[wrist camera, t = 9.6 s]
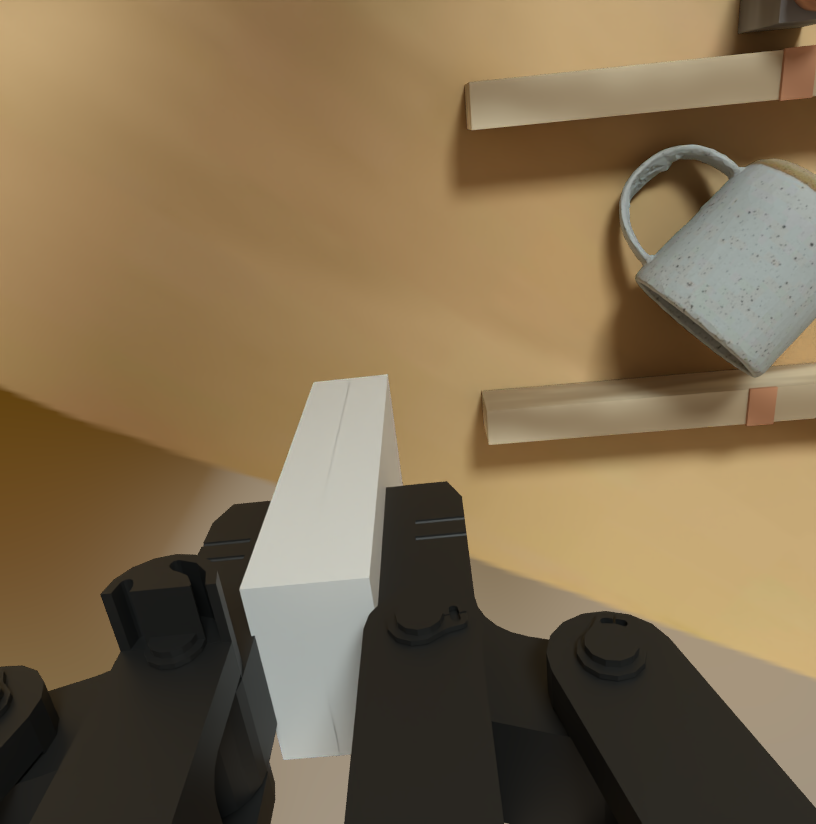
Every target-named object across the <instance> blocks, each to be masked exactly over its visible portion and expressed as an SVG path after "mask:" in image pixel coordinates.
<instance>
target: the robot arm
mask: <svg viewBox="0 0 816 824" xmlns="http://www.w3.org/2000/svg"><path fill="white" fill-rule="evenodd" d="M101 597H102V600H103V603H104V606H105V609H106V612H107V614H108V617H109V620H110V623H111V626H112V628H113V631H114V634H115V637H116V640H117V642H118V645H119V648H120V651H121V652H120V654H119V656H118V658H117V660H116V661H115V663H114V665H113V667H112V669H111V671H108V672H106V673H104V674H101V675H98V676H96V677H92V678H89V679H86V680H83V681H80V682H76V683H73V684H70V685H67V686H64V687H61V688H58V689H54V690H51V691H48V690H47V688H46V685H45V683H44V681H43V679H42V678H41V676H40V675H39V673H38V671H37V670H34V669H31V668H28V667H25V666H5V667H0V824H270V823H271V818H272V813H273V808H274V803H275V781H274V778H273V774H272V770H271V767H270V763H269V760H270V755H271V750H272V746H273V742H274V737H275V733H277V737H278V741H279V745H280V749H281V753H282V756H283V760H289V759H301V758H314V757H327V756H340V755H351V761H350V772H349V781H348V792H347V802H346V812H345V822H344V824H504V823H509V824H816V808H815V807H814V806H813V804H812V803H811V802H810V801H809V800H808V799H807V797H806V796H805V795H804V794H803V793H802V792H801V790H800V789H799V788H798V787H797V786H796V785H795V784H794V782H793V781H792V780H791V779H790V778H789V776H788V775H787V774H786V773H785V772H784V771H783V770H782V768H781V767H780V766H779V765H778V764H777V763H776V761H775V760H774V759H773V758H772V757H771V756H770V754H769V753H768V752H767V751H766V750H765V749H764V747H763V746H762V745H761V744H760V743H759V742H758V740H757V739H756V738H755V737H754V736H753V735H752V733H751V732H750V731H749V730H748V729H747V728H746V727H745V725H744V724H743V723H742V722H741V721H740V720H739V719H738V717H737V716H736V715H735V714H734V713H733V711H732V710H731V709H730V708H729V707H728V706H727V705H726V703H725V702H724V701H723V700H722V699H721V698H720V696H719V695H718V694H717V693H716V692H715V691H714V690H713V688H712V687H711V686H710V685H709V684H708V683H707V681H706V680H705V679H704V678H703V677H702V675H701V674H700V673H699V672H698V671H697V670H696V668H695V667H694V666H693V665H692V664H691V663H690V662H689V660H688V659H687V658H686V657H685V656H684V654H683V653H682V652H681V651H680V650H679V649H678V648H677V646H676V645H675V644H674V643H673V642H672V641H671V639H670V638H669V637H667V636H666V635H665V634H664V633H663V632H661V631H660V630H659V629H657V628H656V627H655V626H654V625H653V624H651V623H649V622H646V621H644V620H642V619H639V618H637V617H634V616H632V615H629V614H622V613H615V612H607V611H603V612H594V613H585V614H581V615H579V616H576V617H574V618H572V619H569V620H567V621H565V622H563V623H562V624H561V625H560V626H559V627H558V628H557V629H556V630H555V631H554V632H553V633H552V634H551V636H550V639H549V640H547V639H541V638H535V637H528V636H524V635H520V634H516V633H512V632H510V631H508V630H505V629H503V628H501V627H499V626H497V625H495V624H494V623H493V622H491V621H490V620H489V619H487V618H486V617H485V616H484V615H483V613H482V612H481V611H480V609H479V608H478V606H477V603H476V600H475V597H474V589H473V581H472V574H471V566H470V558H469V550H468V542H467V535H466V526H465V519H464V510H463V503H462V496H461V495H460V494H459V493H458V492H457V491H456V490H455V489H454V488H453V487H452V486H451V485H450V484H449V483H448V482H447V481H446V482H436V483H426V484H415V485H405V486H403V483H402V476H401V468H400V461H399V454H398V446H397V439H396V431H395V424H394V416H393V409H392V402H391V394H390V387H389V379H388V374H386V375H376V376H367V377H357V378H348V379H338V380H329V381H320V382H314V383H313V385H312V388H311V391H310V394H309V396H308V399H307V402H306V405H305V408H304V410H303V413H302V416H301V419H300V422H299V424H298V427H297V430H296V433H295V436H294V438H293V441H292V444H291V447H290V450H289V452H288V455H287V458H286V461H285V463H284V466H283V469H282V472H281V475H280V477H279V480H278V483H277V486H276V489H275V492H274V494H273V497H272V500H271V501H264V502H254V503H243V504H234V505H233V506H231V507H230V508H229V509H228V510H227V511H226V512H225V513H223V514H222V516H220V517H219V518H218V519H217V520H216V521H215V522H214V523H213V524H212V526H211V528H210V530H209V532H208V535H207V537H206V539H205V541H204V547H201V549H200V552H199V553H198V555H185V554H175V555H170V556H165V557H160V558H155V559H152V560H150V561H147V562H145V563H143V564H140V565H138V566H135V567H133V568H131V569H129V570H128V571H126V572H125V573H123V574H122V575H120V576H119V577H117V578H116V579H114V580H113V581H112V582H111V583H110V584H109V586H108V587H107V588H106V589H105V590H104V591H103V592H102V593H101Z"/></svg>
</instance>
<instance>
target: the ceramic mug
mask: <svg viewBox="0 0 816 824" xmlns="http://www.w3.org/2000/svg"><path fill="white" fill-rule="evenodd" d="M678 159H695V160H699V161H701V162H703V163H706V164H709V165H711V166H713V167H714V168H716V169H718V170H720V171H721V172H723V173H724V174H725V175H726V176H728V178H729V180H728V181H727V182H726V183H725V184H724V185H723V186H722V188H721V189H720V190H719V191H717V192H716V193H715V195H714V196H713V197H712V198H711V199H710V200H709V201H708V202H707V203H705V204H704V205H703V206H702V207H701V208H700V210H699V212H698V213H697V214H696V215H695V216H694V217H693V218H692V219H691V220H690V221H689V222H688V223H687V224H686V225H685V226H684V227H682V228H681V229H680V230H679V231H678V232H677V233H676V234H675V235H674V236H673V237H672V238H671V239H670V240H669V241H668V242H667V243H666V244H665V245H664V246H663V247H662V248H661V249H660V250H659V251H658V252H657V253H656V254H655V255H648V254H647V253H646V252H645V251H644V250H643V248H642V247H641V246H640V243H639V242H638V240H637V238H636V236H635V234H634V232H633V230H632V228H631V224H630V213H629V208H630V201H631V198H632V197H633V196H634V195H635V194H636V193H637V192H638V191H639V190H640V189H641V188H642V187H643V186H644V185H645V184H646V183H647V182H648V181H650V180H651V179H652V178H653V177H655V176H656V175H657V174H658V173H660V172H663V171H667V170H668V169H669V167H670V166H671V164H672V162H674V161H676V160H678ZM619 218H620V225H621V229H622V232H623V235H624V238H625V240H626V241H627V243H628V245H629V247H630V248H631V250H632V251H633V253H634V254H635V256H636V257H637V258H638V260H639V261H640V262H641V263H642V265H643V267H642V268H641V269H640V270H639V272H638V273H637V275H636V277H635V280H636V282H637V283H638V285H639V286H640V287H641V288H642V289H643V291H644V292H645V293H646V294H647V295H648V296H649V297H650V298H652V299H653V300H654V301H655V302H656V303H657V304H658V305H659V306H660V307H661V308H662V309H663V310H664V311H665V312H667V313H668V314H669V315H670V316H671V317H673V318H674V319H675V320H676V321H677V322H678V323H679V324H680V325H682V326H683V327H684V328H685V329H686V330H688V331H689V332H690V333H691V334H693V335H694V336H695V337H696V338H698V339H699V340H700V341H701V342H702V343H704V344H705V345H706V346H708V347H709V348H710V349H711V350H712V351H714V352H715V353H716V354H718V355H719V356H721V357H722V358H724V359H725V360H726V361H727V362H729V363H731V364H732V365H733V366H735V367H737V368H738V369H739V370H741V371H743V372H744V373H746V374H747V375H750V376H752V377H754V378H756V377H759V376H761V375H762V374H764V373H765V372H766V371H767V370H768V369H769V367H770V366H771V365H772V364H773V363H774V362H775V361H776V359H777V358H778V357H779V356H780V355H781V354H782V353H783V352H784V351H785V350H786V349H787V348H788V347H789V346H790V345H791V344H792V343H793V342H794V341H795V340H796V339H797V337H798V336H799V335H800V334H801V333H802V332H803V331H804V330H805V329H806V328H807V327H808V326H809V325H810V324H811V323H812V321H813V320H814V319H815V318H816V175H815V174H813V173H812V172H810V171H809V170H807V169H805V168H803V167H801V166H799V165H797V164H794V163H791V162H789V161H786V160H780V159H764V160H758V161H755V162H753V163H751V164H750V165H748V166H746V167H738V166H737V165H736V163H735V162H734V161H732V160H731V159H729V158H728V157H727V156H726V155H724V154H721V153H719V152H717V151H716V150H714V149H711V148H707V147H704V146H700V145H693V144H691V145H681V146H674V147H671V148H668V149H664V150H662V151H660V152H658V153H657V154H655V155H653V156H652V157H650V158H649V159H648V160H646V161H645V162H644V163H642V164H641V165H640V166H639V167H638V168H637V169H636V170H635V171H634V172H633V173H632V175H631V176H630V178H629V179H628V180H627V182H626V183H625V185H624V187H623V190H622V193H621V197H620V201H619Z"/></svg>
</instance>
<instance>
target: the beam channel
mask: <svg viewBox="0 0 816 824" xmlns="http://www.w3.org/2000/svg"><path fill="white" fill-rule="evenodd" d="M813 24H816V0H741V1H740V13H739V26H738V34H739V33H749V32H759V31H768V30H778V29H788V28H797V27H804V26H809V25H813ZM813 96H816V45H812V46H802V47H792V48H784V50H777V51H767V52H758V53H748V54H738V55H728V56H719V57H709V58H699V59H690V60H680V61H670V62H660V63H651V64H641V65H631V66H621V67H612V68H602V69H592V70H582V71H573V72H563V73H553V74H543V75H534V76H524V77H514V78H505V79H495V80H485V81H475V82H469V83H467V84H465V101H466V118H467V129H468V130H479V129H489V128H499V127H509V126H519V125H529V124H539V123H549V122H559V121H569V120H579V119H589V118H599V117H609V116H619V115H629V114H639V113H649V112H659V111H669V110H679V109H689V108H699V107H709V106H719V105H729V104H739V103H749V102H759V101H769V100H778V101H782V100H792V99H802V98H812V97H813ZM482 404H483V422H484V427H485V431H486V435H487V440H488V444H489V445H494V444H506V443H519V442H531V441H543V440H555V439H568V438H580V437H592V436H604V435H617V434H629V433H641V432H653V431H666V430H678V429H690V428H703V427H715V426H727V425H739V424H745V425H746V426H756V425H768V424H774V422H776V421H788V420H801V419H813V418H816V363H807V364H796V365H784V366H772V367H769V369H768V370H767V371H766V372H765V373H764V374H762V375H761V376H759V377H756V378H754V377H752V376H750V375H747V374H746V373H744V372H743V371H741V370H739V369H736V370H725V371H713V372H701V373H689V374H677V375H666V376H654V377H642V378H630V379H618V380H607V381H595V382H583V383H571V384H559V385H548V386H536V387H524V388H512V389H500V390H489V391H482Z"/></svg>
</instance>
